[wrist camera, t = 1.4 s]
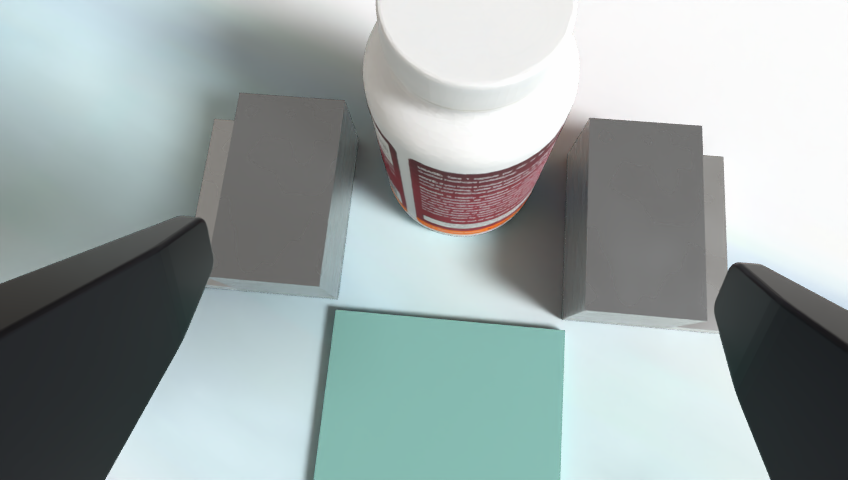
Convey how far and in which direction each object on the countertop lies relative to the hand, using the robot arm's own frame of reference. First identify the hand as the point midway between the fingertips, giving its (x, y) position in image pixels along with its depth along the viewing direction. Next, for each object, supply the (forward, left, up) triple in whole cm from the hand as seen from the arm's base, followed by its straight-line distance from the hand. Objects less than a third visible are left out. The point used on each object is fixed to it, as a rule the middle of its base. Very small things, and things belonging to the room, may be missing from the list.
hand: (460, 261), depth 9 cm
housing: (+3, +3, -12) cm, 13 cm away
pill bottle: (+4, +5, -13) cm, 14 cm away
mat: (-3, -3, -12) cm, 13 cm away
